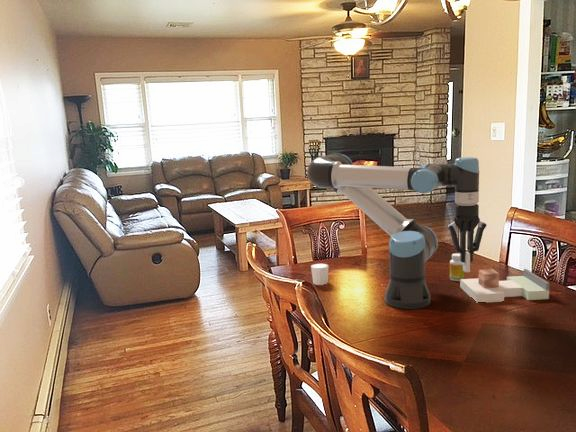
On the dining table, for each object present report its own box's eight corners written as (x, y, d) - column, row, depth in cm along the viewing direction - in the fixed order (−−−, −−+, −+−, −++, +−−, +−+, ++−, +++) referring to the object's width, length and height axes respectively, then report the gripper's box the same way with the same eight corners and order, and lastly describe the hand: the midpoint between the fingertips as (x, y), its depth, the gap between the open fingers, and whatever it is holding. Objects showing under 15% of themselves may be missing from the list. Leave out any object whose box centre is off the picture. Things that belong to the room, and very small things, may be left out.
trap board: (477, 303, 166) (477, 287, 165) (460, 287, 182) (460, 272, 181) (548, 298, 166) (549, 283, 165) (525, 283, 182) (526, 268, 181)
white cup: (329, 279, 199) (328, 262, 197) (329, 285, 192) (328, 268, 191) (312, 280, 199) (311, 263, 198) (311, 285, 193) (310, 268, 191)
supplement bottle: (461, 282, 187) (462, 257, 185) (447, 280, 190) (447, 255, 189) (466, 278, 191) (466, 253, 190) (452, 276, 195) (452, 252, 193)
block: (484, 288, 171) (484, 274, 170) (478, 283, 176) (478, 269, 175) (498, 287, 171) (499, 273, 170) (492, 282, 176) (492, 269, 175)
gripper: (451, 206, 164) (451, 275, 169) (490, 204, 164) (489, 273, 169) (443, 203, 172) (444, 269, 176) (481, 200, 172) (480, 266, 176)
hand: (466, 270), depth 172 cm, fingers closed
